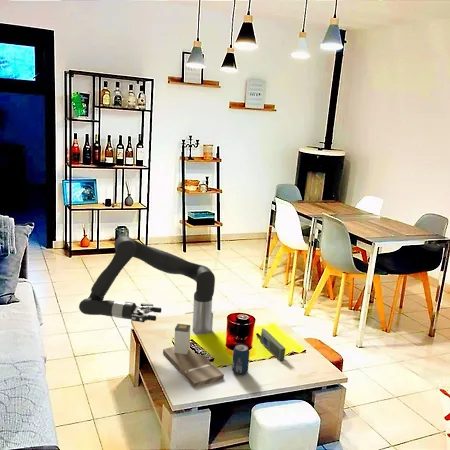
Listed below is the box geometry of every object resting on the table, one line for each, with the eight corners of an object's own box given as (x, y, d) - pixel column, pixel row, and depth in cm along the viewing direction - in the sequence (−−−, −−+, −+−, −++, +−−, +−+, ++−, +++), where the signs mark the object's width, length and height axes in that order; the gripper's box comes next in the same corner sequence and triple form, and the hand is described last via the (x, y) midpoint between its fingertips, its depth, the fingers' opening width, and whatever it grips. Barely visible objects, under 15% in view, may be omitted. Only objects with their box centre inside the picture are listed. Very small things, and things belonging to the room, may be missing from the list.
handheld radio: (278, 362, 214) (253, 336, 236) (284, 361, 215) (259, 335, 237) (280, 349, 212) (255, 324, 234) (286, 348, 213) (261, 323, 235)
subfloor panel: (190, 346, 222) (190, 342, 222) (223, 378, 198) (223, 374, 198) (163, 353, 215) (163, 348, 214) (194, 387, 191) (194, 382, 190)
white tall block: (176, 347, 217) (177, 323, 214) (189, 348, 216) (190, 324, 213) (174, 352, 212) (174, 328, 209) (187, 354, 211) (188, 330, 208)
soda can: (244, 366, 208) (246, 342, 205) (250, 375, 202) (252, 350, 199) (229, 368, 206) (231, 344, 203) (235, 377, 199) (236, 352, 196)
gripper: (118, 308, 205) (154, 313, 203) (129, 296, 219) (163, 300, 217) (118, 324, 207) (154, 329, 205) (129, 311, 221) (162, 315, 219)
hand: (158, 314), depth 211 cm, fingers open, 8 cm apart
